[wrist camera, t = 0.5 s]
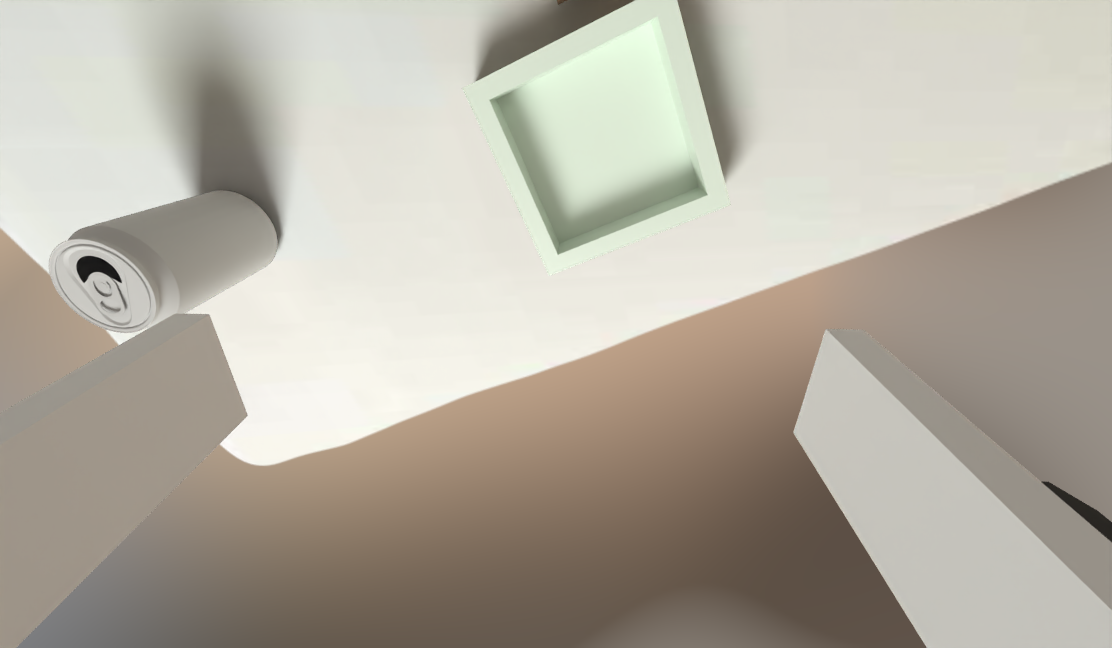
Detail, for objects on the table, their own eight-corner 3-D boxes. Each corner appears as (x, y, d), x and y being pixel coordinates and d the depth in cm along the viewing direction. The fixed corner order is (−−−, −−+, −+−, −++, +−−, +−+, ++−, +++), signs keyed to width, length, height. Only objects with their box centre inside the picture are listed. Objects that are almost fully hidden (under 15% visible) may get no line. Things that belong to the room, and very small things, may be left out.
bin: (474, 88, 31) (462, 88, 28) (661, -7, 28) (672, -19, 25) (551, 259, 36) (549, 275, 33) (716, 194, 33) (730, 205, 30)
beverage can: (269, 187, 35) (131, 232, 24) (293, 268, 37) (178, 340, 27) (188, 188, 35) (15, 231, 24) (217, 268, 38) (73, 338, 27)
